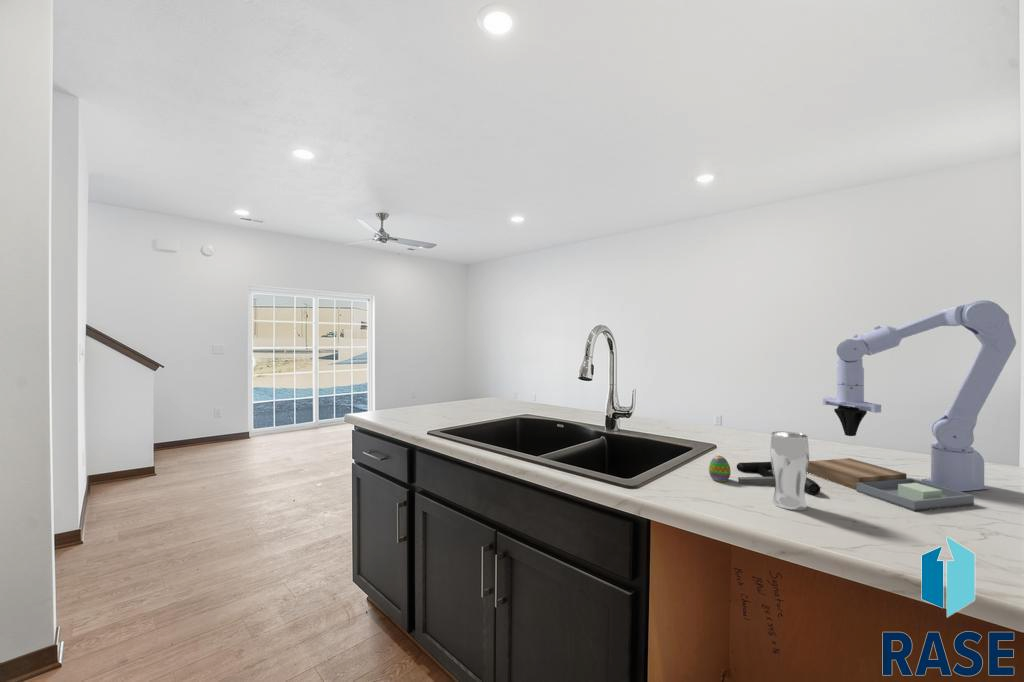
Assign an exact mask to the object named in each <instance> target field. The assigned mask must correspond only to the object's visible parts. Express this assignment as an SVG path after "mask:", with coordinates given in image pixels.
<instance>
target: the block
mask: <svg viewBox="0 0 1024 682" xmlns="http://www.w3.org/2000/svg"><path fill="white" fill-rule="evenodd" d="M898 495H899V496H902V497H905V498H908V499H911V500H921V499H931V498H941V497H942V490H939V489H936V488H932V487H929V486H925V485H922V484H918V483H908V484H898Z"/></svg>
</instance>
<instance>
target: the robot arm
mask: <svg viewBox="0 0 1024 682" xmlns="http://www.w3.org/2000/svg"><path fill="white" fill-rule="evenodd" d="M958 326H962V327H964V328H965V329H966V330H968V331H970V332H971V333H973V334H974V336H975V337H976V339H977V340H978V341H979V343H980V344H981V346H980V348H979V351H978V353H977V354H976V356H975V359H974V360H973V362H972V364H971V366H970V368H969V370H968V372H967V374H966V375H965V377H964V380H963V381H962V383H961V384H960V387H959V389H958V391H957V393H956V395H955V396H954V399H953V400H952V402H951V404H950V406H949V407H948V408H947V409H946V410H945V412H944V414H943V415H942V417H941V418H939V419H937V420H935V421H934V422H933V423H932V425H931V433H932V435H933V436H934V438H935V439H936V440H934V442H931V443H930V478H921V479H920V481H924V482H927V483H931V484H934V485H938V486H941V487H945V488H949V489H952V490H956V491H959V492H970V491H971V492H972V491H979V490H981V491H982V490H989V489H990V486H987V485H985V460H984V457H983V456H982V454H981V453H980V452H979V451H978V450H975V449H974V447H972V445H973V443H974V442H975V441H974V440H975V435H974V429H975V427H976V425H977V421H978V416H979V413H980V412H981V410H982V408H983V407H984V404H985V403H986V400H987V399H988V397H989V396H990V394H991V391H992V389H993V388H994V386H995V384H996V382H997V381H998V379H999V377H1000V375H1001V373H1002V371H1003V369H1004V368H1005V365H1006V364H1007V363H1008V360H1009V359H1010V357H1011V355H1012V352H1013V351H1014V349H1015V347H1016V344H1017V339H1016V337H1015V334H1014V330H1013V328H1012V325H1011V322H1010V316H1009V313H1007V312H1006V311H1005V309H1003V307H1001V306H1000V305H999V304H998V303H996V302H995V301H991V300H985V299H983V300H976V301H973V302H970V303H968V304H967V303H966V304H962V305H956V306H953V307H949V308H945V309H941V310H939V311H936V312H933V313H931V314H928V315H926V316H923V317H921V318H918V319H915V320H913V321H910V322H908V323H905V324H902V325H900V326H898V327H894V326H893V327H892V326H890V325H889V326H888V325H884V326H882V327H881V326H880V325H877V326H874V327H873V330H870V331H868V332H864V333H862V334H860V335H858V334H855V335H852V337H853V338H848V339H847V338H846V339H845V340H843V341H842V342H840V343H839V344H838V345H837V347H836V350H835V351H836V355H837V356H838V358H837V361H836V362H837V367H836V398H835V397H822V405H825V406H833V407H836V408H834V409H833V410H834V411H833V412H834V413H835V414H836V416H837V417H838V419H839V421H840V423H841V426H842V428H843V432H844V436H848V437H856V436H857V433H858V429H859V427H860V424H861V422H862V420H863V419H864V417H866V415H867V413H868V412H870V413H875V414H876V413H882V404H879V403H878V404H877V403H873V402H868V401H865V368H864V367H863V357H864V356H865V355H868V356H872V355H876V354H878V353H881V352H884V351H888V350H891V349H894V348H896V347H899V346H900V343H901V341H902V340H904V339H905V338H908V337H911V336H914V335H918V334H921V333H923V332H924V333H925V332H927V331H929V330H932V329H935V328H938V327H958Z"/></svg>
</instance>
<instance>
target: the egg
mask: <svg viewBox="0 0 1024 682" xmlns="http://www.w3.org/2000/svg"><path fill="white" fill-rule="evenodd" d="M708 465H709V466H708V473H709V476H710V478H711V479H712V480H713V481H716V482H723V483H724V482H727V481H728V480H730V477H731V466H730V464H729V462H728V460H727V459H726V458H725V457H724V456H721V455H716V456H714V457H713V458H712V459H711V461H710V462H709V464H708Z"/></svg>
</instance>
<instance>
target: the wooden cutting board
mask: <svg viewBox="0 0 1024 682" xmlns="http://www.w3.org/2000/svg"><path fill="white" fill-rule="evenodd" d="M809 473H811V474H814V475H817V476H819V477H818V478H820V477H822V478H821V479H823V478H825V479H824V480H826V479H828V480H827V481H829V480H831V481H830V482H832V481H833V482H832V483H835V482H836V484H838V483H839V484H838V485H841V484H842V485H841V486H844V487H847V488H849V489H852V488H853V490H855V489H856V491H857V483H860V482H871V481H883V480H894V479H906V478H907V473H906V472H901V471H898V470H895V469H891V468H887V467H884V466H879V465H876V464H872V463H868V462H865V461H861V460H858V459H853V458H851V457H849V458H848V457H847V458H835V459H833V458H832V459H823V460H822V459H821V460H820V459H819V460H809V467H808V473H807V474H809ZM811 474H810V475H811ZM814 475H813V476H814ZM817 476H816V477H817Z"/></svg>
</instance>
